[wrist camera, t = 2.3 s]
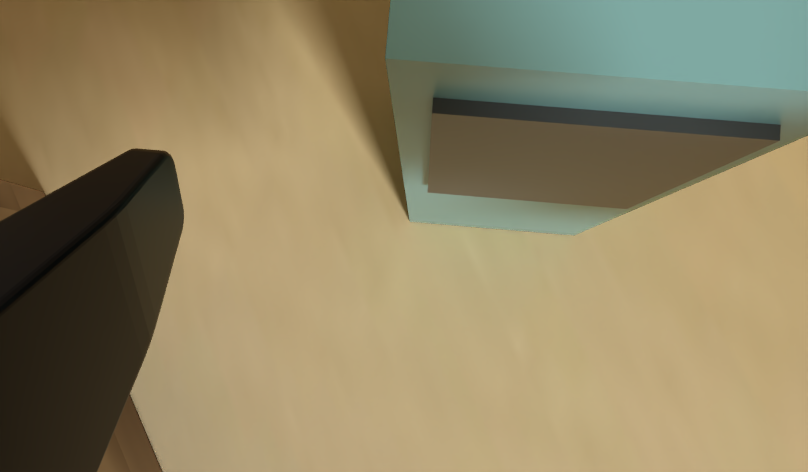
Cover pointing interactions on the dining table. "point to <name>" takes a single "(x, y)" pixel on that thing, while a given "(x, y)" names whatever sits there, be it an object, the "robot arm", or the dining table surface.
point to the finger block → (585, 102)
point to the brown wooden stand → (129, 446)
